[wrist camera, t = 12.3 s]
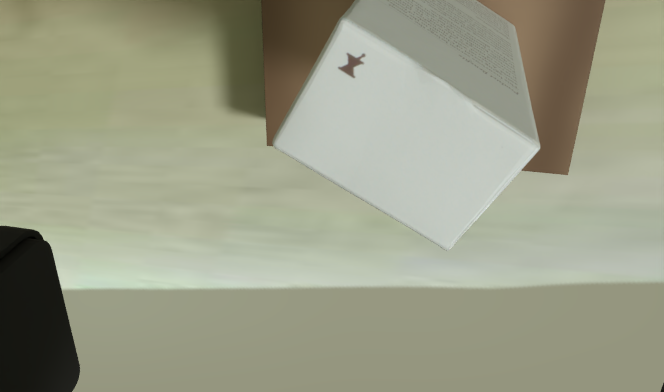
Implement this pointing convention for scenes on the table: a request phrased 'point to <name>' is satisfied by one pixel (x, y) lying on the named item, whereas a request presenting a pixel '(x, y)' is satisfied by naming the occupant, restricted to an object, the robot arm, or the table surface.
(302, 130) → the skincare box
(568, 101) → the block
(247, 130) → the table surface
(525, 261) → the table surface
